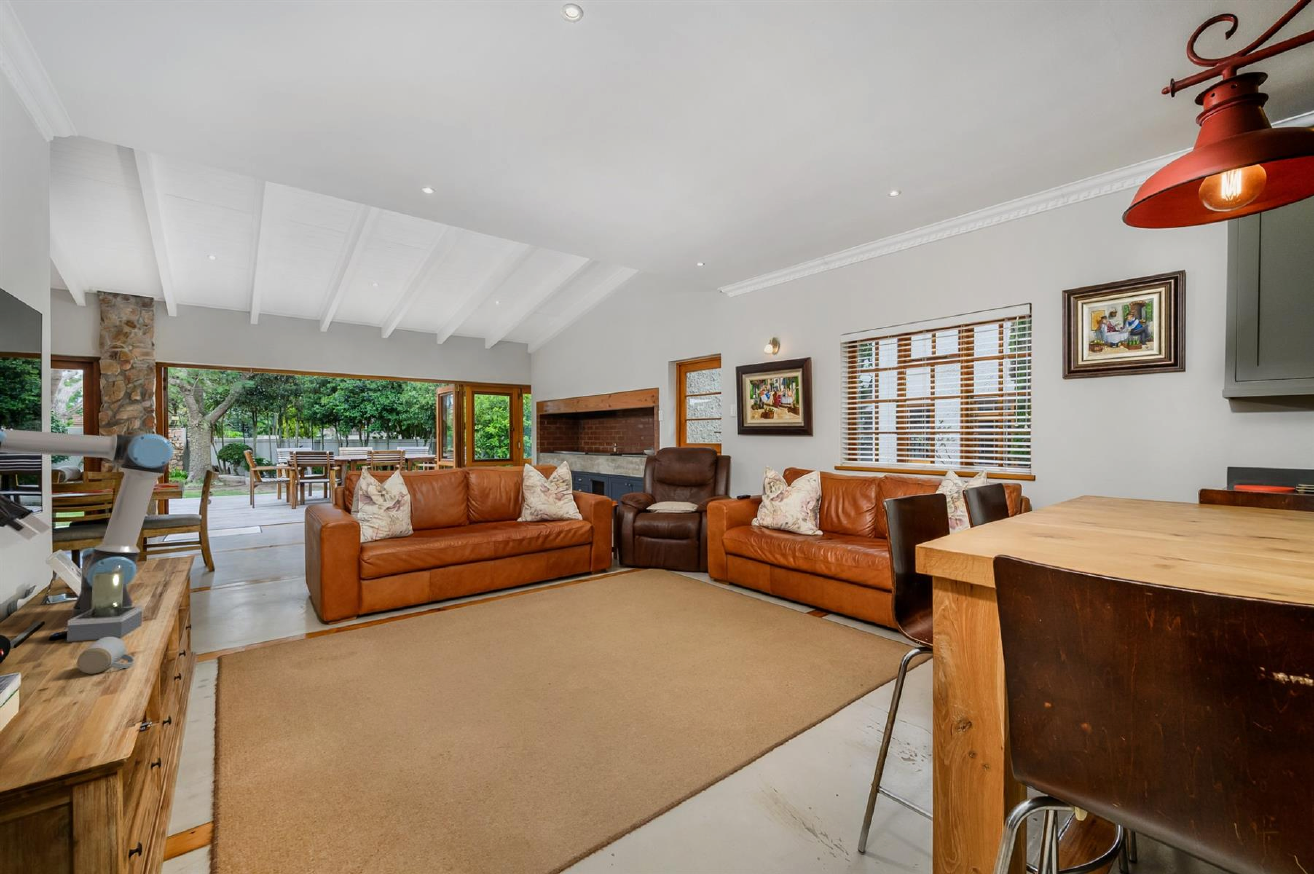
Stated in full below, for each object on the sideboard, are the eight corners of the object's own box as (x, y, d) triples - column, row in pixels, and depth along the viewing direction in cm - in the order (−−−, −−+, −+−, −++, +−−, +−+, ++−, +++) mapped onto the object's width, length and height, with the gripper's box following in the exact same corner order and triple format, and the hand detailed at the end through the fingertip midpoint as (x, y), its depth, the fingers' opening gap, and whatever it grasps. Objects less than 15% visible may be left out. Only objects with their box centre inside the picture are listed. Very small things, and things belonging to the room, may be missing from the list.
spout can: (85, 621, 172) (88, 568, 173) (98, 615, 179) (101, 563, 179) (114, 619, 175) (117, 567, 175) (126, 613, 181) (128, 562, 182)
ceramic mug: (73, 677, 144) (75, 647, 145) (89, 665, 152) (91, 637, 152) (126, 672, 149) (128, 643, 149) (139, 661, 156) (141, 633, 156)
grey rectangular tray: (96, 625, 183) (97, 606, 183) (145, 622, 188) (146, 603, 188) (66, 641, 168) (67, 620, 168) (120, 637, 173) (121, 617, 173)
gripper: (-28, 491, 174) (39, 536, 182) (-65, 498, 154) (13, 548, 162) (-2, 474, 177) (63, 519, 186) (-34, 479, 157) (41, 529, 165)
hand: (40, 533), depth 174 cm, fingers open, 13 cm apart
